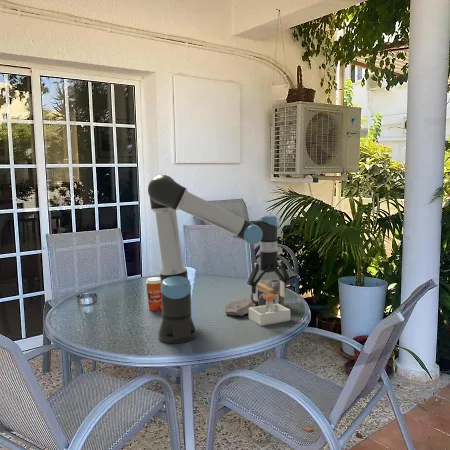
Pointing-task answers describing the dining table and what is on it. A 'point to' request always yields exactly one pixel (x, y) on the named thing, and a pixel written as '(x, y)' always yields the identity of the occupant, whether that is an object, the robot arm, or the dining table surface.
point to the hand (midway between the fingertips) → (269, 298)
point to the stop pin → (269, 301)
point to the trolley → (268, 292)
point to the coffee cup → (154, 293)
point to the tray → (269, 315)
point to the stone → (239, 307)
